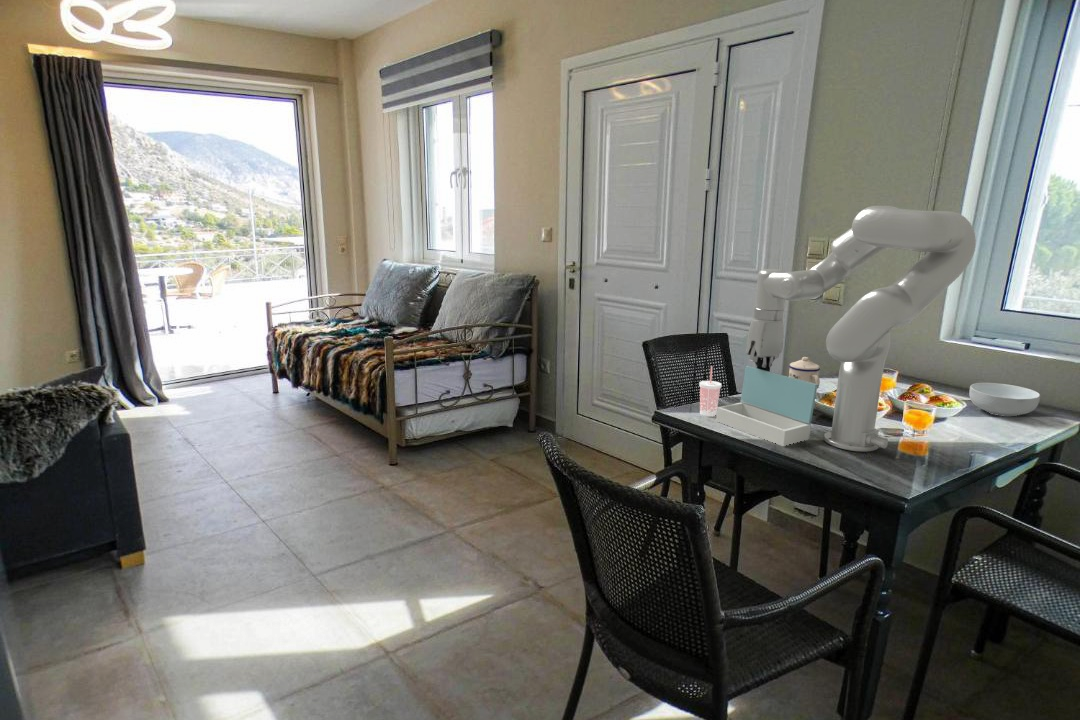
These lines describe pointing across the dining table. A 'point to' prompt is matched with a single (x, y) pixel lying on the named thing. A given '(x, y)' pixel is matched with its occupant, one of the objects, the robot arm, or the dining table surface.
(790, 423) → the hinged pencil box
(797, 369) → the teacup with lid
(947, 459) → the dining table surface
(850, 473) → the dining table surface
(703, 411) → the beverage cup
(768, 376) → the cover
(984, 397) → the cereal bowl
